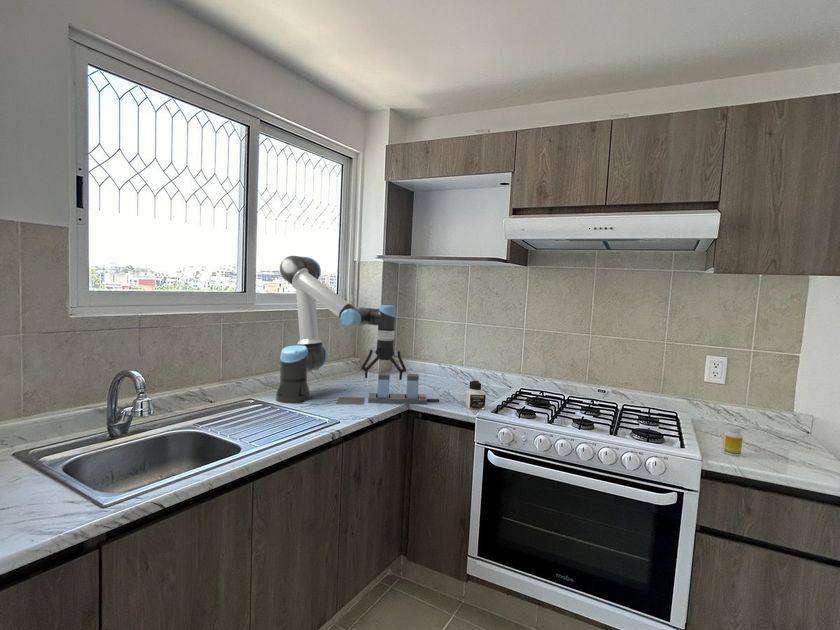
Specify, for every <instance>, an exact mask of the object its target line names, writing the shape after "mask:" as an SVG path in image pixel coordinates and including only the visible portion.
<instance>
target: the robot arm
mask: <svg viewBox="0 0 840 630" xmlns="http://www.w3.org/2000/svg"><path fill="white" fill-rule="evenodd" d="M279 273H280V275H281V277H282V278H283V279H284V280H285V281H286V282H287V283H289V284H290V285H291V286H292V287H293V288H294V290H295V293H296V305H297V317H298V330H299V332H298V333H299V340H298V342H297V344H296V345H295V344H294V345H289V346H286V347H284V348H282V350H281V352H280V356H279V357H280V375H279V379H280V380H279V383H278V386H277V389H276V392H275V400H276V401H277V402H280V403H288V404H292V403H293V404H294V403H295V404H296V403H304V402H305V401H309V400H310V399H311V391H310V388H309V384H308V372H312V371H317V370H319V369H321V368H322V367H324V366H325V364H326V362H327V360H328V352H327V350H326V348H325V347H324V346H323V341H322V339H320V338H319V328H318V318H317V317H318V315H317V303H316V301H317V302H318V303H319V304H321V306H323V307H324V308H326V309H327V310H328V311H330V312H331V313H332V314H334V315H335V316H336V317H338V318H339V319H340V321H341V323H342V325H343V326H344V327H346V328H356V327H359V326H366V325H369V326H377V337H376V338H377V340H376V349H373V348H370V349H369V354H368V355H367V356H366V358H365V360H364V362H363V364H361V365H362V366H361V368H360V370H362V371H364V379H366V387H369V386H370V385H369V384H370V371H371V370H370V369H371V368H372V367H373V366H374V365H375V364H376V363H377V362H378V361H379V360H380V361H390V362H391V363H392V364H393V365H394V367H395V368H396V369H397V371H398V372H397V381H396V383H397V384H396V388H399V387H400V381H402V380H403V373H405V372H407V368H406V366H405V363H404V361H403V359H402V357H401V351H400V350H396V351H395V350H394V348H395V347H394V345H395V342H394V339H395V331H396V330H395V326H396V317H397V316H396V306H395V305H390V304H380V305H379V306H378V308H370V307H365V306H364V307H362V306H361V307H355V306H354V305H352V304H351V303H349V301H347V300H345V299H344V298H343V297H341V296H340V295H339V294H337V293H336V292H335V291H333V290H332V289H331V288H329V287H328V286H327V285H325V284H324V283H323V282H321V281H320V280H319V278H320V277H321V273H322V270H321V266H320V264H319V262H318V261H316V260H315V259H314V258H311V257H308V256H299V255H298V256H297V255H289V256H286V257H285V258H284V259H282V261H281V262H280V265H279ZM374 354H375V355H376V356H375V357H374V359H373V360H372V361H370V363H369V360H370V359H371V357H372V355H374ZM394 355H395V356H397V359H398V361H399V363H400V365H399V364H398V362H397V361H396V360H395V359H394V358H393V356H394ZM368 363H369V364H368ZM367 364H368V365H367ZM400 366H401V367H400Z"/></svg>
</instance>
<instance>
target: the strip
mask: <svg viewBox="0 0 840 630" xmlns="http://www.w3.org/2000/svg"><path fill="white" fill-rule="evenodd" d="M367 399H368V401H367V403H368V404H387V405H388V404H389V405H390V404H392V405H393V404H396V405H397V404H398V405H426V406H427V404H428V403H440V399H439V398H427V396H426V394H421V393H420V394H419V393H418V399H409V398H406V393H390V392H389V398H378V392H368V397H367Z"/></svg>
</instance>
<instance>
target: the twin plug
mask: <svg viewBox="0 0 840 630" xmlns="http://www.w3.org/2000/svg"><path fill="white" fill-rule="evenodd" d="M419 379H420V377H419V374H418V373H407V374H406V391H405V394H406V398H409V399H418V394H419Z"/></svg>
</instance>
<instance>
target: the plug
mask: <svg viewBox="0 0 840 630" xmlns="http://www.w3.org/2000/svg"><path fill="white" fill-rule="evenodd" d="M390 375H391V373H388V372H378V377H377V379H378V381H377V393H378V398H389V393H390V379H391V378H390V377H391V376H390Z"/></svg>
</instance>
